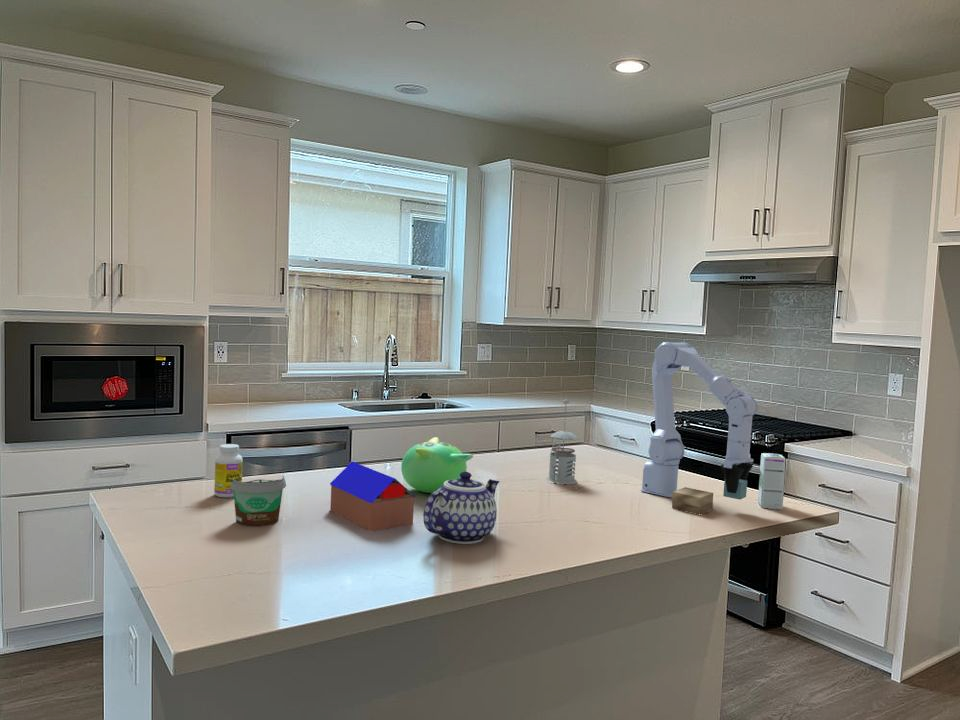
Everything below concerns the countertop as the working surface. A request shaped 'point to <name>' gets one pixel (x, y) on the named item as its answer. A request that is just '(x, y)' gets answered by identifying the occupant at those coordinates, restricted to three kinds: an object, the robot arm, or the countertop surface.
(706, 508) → the slab bottom
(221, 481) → the supplement bottle
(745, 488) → the teal cube
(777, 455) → the syrup box
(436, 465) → the toy bird
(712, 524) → the countertop surface
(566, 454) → the french press
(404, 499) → the house
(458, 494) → the teapot
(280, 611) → the countertop surface
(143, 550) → the countertop surface
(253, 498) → the food container
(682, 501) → the slab top
